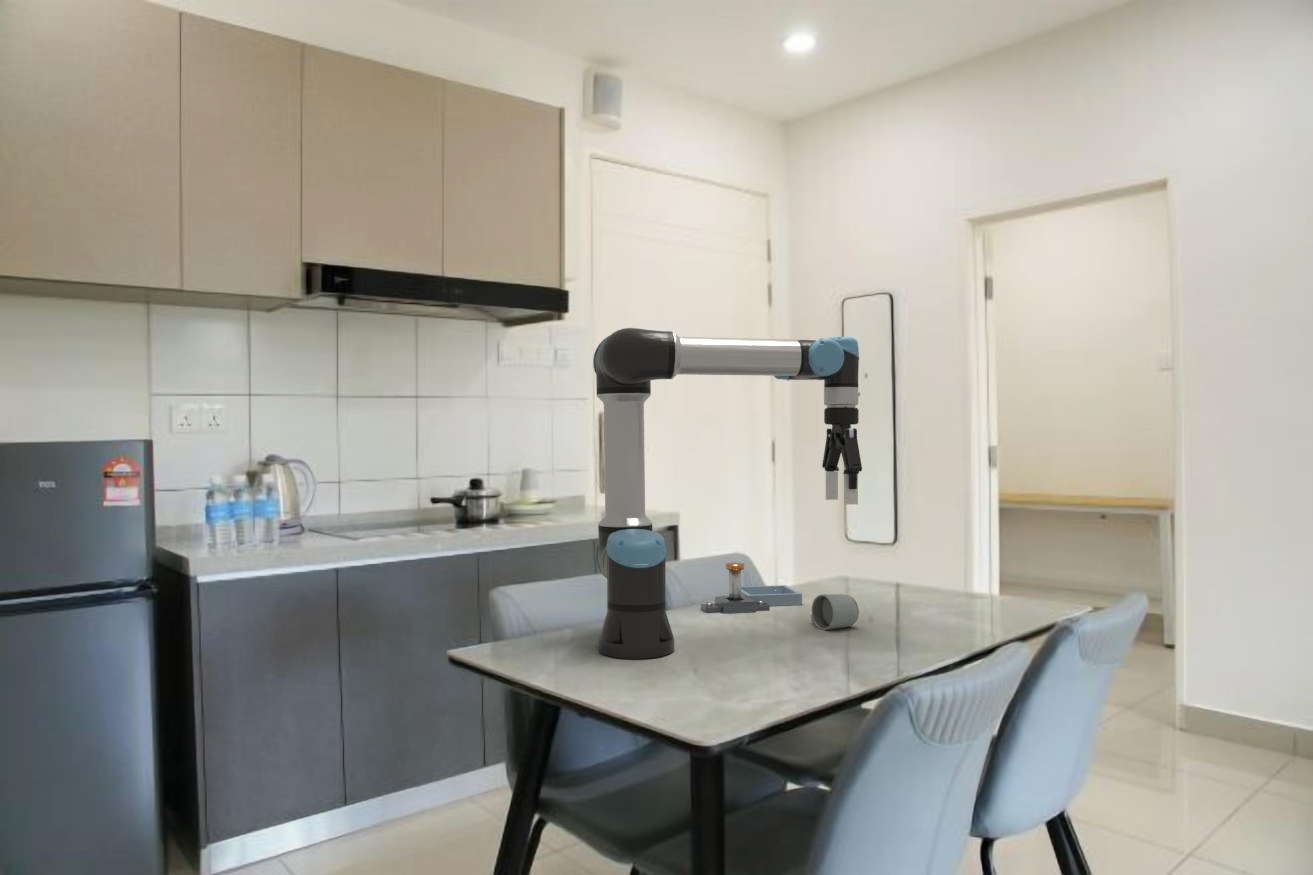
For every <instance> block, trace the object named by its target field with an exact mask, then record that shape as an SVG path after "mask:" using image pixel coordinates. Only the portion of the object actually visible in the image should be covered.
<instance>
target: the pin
mask: <svg viewBox="0 0 1313 875" xmlns="http://www.w3.org/2000/svg"><path fill="white" fill-rule="evenodd" d="M725 569H726V570H728V596H729V601H734V600H741V587H742V570H745V563H743V562H727V563H725Z"/></svg>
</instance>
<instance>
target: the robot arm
mask: <svg viewBox="0 0 1313 875" xmlns="http://www.w3.org/2000/svg"><path fill="white" fill-rule="evenodd" d="M859 350H860V349H859V342H858V340H857V339H856V338H855V337H850V336H849V337H848V336H839V337H838V336H836V337H835V336H834V337H827V338H818V339H787V338H786V339H784V338H781V339H780V338H749V337H748V338H744V337H743V338H742V337H741V338H739V337H709V336H708V337H706V336H705V337H703V336H702V337H699V336H698V337H697V336H678V334H676V332H674V331H669V330H666V331H665V330H652V329H645V328H643V329H642V328H635V327H626V328H621V329H618V330H616V331H614V332H612V333H611V334H610V335H608V336H606V337H605V338H603V340H601V341H600V343H599V344H598V345H597V347H596V349H595V352H594V354H593V359H592V360H593V364H592V365H593V369H594V372H595V376H596V384H595V385H596V397H597V398H598V400H600V401H601V402H602V403H603V404H602V405H603V430H604V431H603V436H604V441H603V442H604V443H603V444H604V445H603V447H604V452H603V453H604V505H605V506H604V512H605V513H604V514H605V515H604V517H603V518H602V519H601V520H600V521H599V522H598V523H597V524H598V525H597V526H598V527H597V528H598V533H597V534H598V543H597V546H596V551H595V560H596V565H597V568H598V570H599V571H600V573H601V575H602V576H603V577H604V578H605V579H606V581H607V582H606V584H607V585H606V589H607V590H606V591H607V593H606V597H607V598H606V601H607V602H606V603H607V604H606V605H607V606H606V608H607V609H606V615H605V617H604V621H603V624H602V627H601V631H600V633H599V637H598V652H599V653H600V654H602V655H605V656H607V657H613V658H619V659H634V660H635V659H636V660H637V659H652V658H659V657H664V656H667V655H670V654H671V653H673V652H674V651H675V637H674V633H673V630H672V627H671V624H670V620H669V618H668V615H667V611H666V556H667V547H666V540H665V538H664V536H663V535H662V534H660V533H658V532H656V531H654V530H653V522H652V520H651V519H650V518H649V517H648V516H647V514H646V475H645V474H646V472H645V470H646V468H645V465H646V464H645V460H646V459H645V408H644V407H645V406H644V405H645V403H646V401H647V400H648V399H649V398H650V397H651V395H652V393H651V391H652V388H651V381H656V380H673V379H674V378H675V377H676V376H677V375H690V376H691V375H698V376H699V375H700V376H701V375H702V376H703V375H704V376H709V375H710V376H768V377H769V376H773V377H774V378H775V379H776V380H785V381H812V380H813V381H823V382H824V384H823V405H824V406H826V407H825V408H824V409H823V412H824V413H823V414H824V416H823V417H824V419H823V421H824V424H825V425H828V426H829V425H830V426H831V428H826V437H825V438H826V439H825V445H824V452H823V459H822V469H824V471H825V500H826V501H827V500H828V501H831V500H839V471H840V468H839V466H838V465H839V461H840V458H841V457H842V461H843V465H844V468H845V469H844V471H843V475H844V505H859V474H860V472H862V471H863V467H862V466H863V465H862V461H861V460H862V458H861V454H860V449H859V448H860V447H859V443H858V435H857V434H858V430H857V428H852V427H851V426H852V425H858V424H859V422H860V421H859V410H860V409H858V407H856V406H858V405H859V397H860V396H861V392H860V391H859V371H860V370H859V367H860V366H859V362H860V361H859V360H860V352H859Z"/></svg>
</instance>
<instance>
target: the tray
mask: <svg viewBox="0 0 1313 875" xmlns="http://www.w3.org/2000/svg"><path fill="white" fill-rule="evenodd" d="M775 590H776V591H775ZM745 595H746V596H748V597H749V598H751V599H753V600H754V601H755V602H757V601H764V602H765V603H767V604H768V605H770V607H779V606H780V607H784V606H786V607H787V606H802V605H803V593H801V592H799V591H797V590H796V589H794V588H792V587H790V586H789V585H785V584H779V585H777V584H776V585H750V586H748V585H747V586H741V596H745Z"/></svg>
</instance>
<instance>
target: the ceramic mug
mask: <svg viewBox="0 0 1313 875" xmlns="http://www.w3.org/2000/svg"><path fill="white" fill-rule="evenodd" d="M859 612H860V611H859V606H858V603H857V601H856V600H855V598H854V597H852V596H851V595H847V594H843V593H842V594H841V593H840V594H835V593H833V594H831V593H830V594H827V593H823V594H819V595H817V596H816V597H815V598H814V599H813V601H812V605H811V615H810V619H811V623H814V624H815V626H816V627H818V628H819V629H820V630H823V631H828V630H835V629H836V630H837V629H841V628H843V629H844V628H848V627H852V626H853V625H855V624H856V623H857V621H858V618H859V615H860V614H859Z"/></svg>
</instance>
